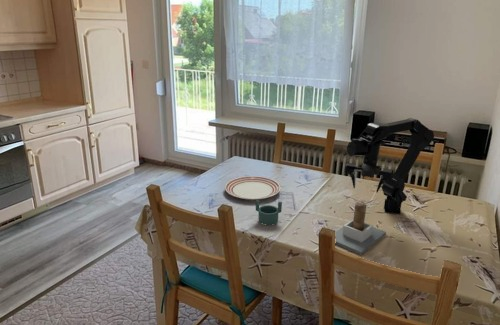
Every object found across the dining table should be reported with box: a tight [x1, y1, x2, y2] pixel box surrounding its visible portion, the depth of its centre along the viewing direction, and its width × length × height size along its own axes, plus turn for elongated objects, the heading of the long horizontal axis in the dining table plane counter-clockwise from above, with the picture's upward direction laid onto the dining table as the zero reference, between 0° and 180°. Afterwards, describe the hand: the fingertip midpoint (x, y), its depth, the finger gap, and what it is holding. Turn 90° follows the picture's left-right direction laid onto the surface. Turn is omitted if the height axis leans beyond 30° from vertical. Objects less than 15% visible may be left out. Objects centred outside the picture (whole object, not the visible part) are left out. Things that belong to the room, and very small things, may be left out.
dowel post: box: [352, 202, 367, 231], centre depth 137 cm, size 4×4×12 cm
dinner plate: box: [224, 175, 282, 201], centre depth 179 cm, size 27×27×3 cm
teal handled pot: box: [255, 199, 283, 226], centre depth 150 cm, size 9×9×9 cm
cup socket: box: [334, 218, 387, 256], centre depth 138 cm, size 20×14×5 cm
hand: (365, 190), depth 152 cm, fingers open, 9 cm apart
